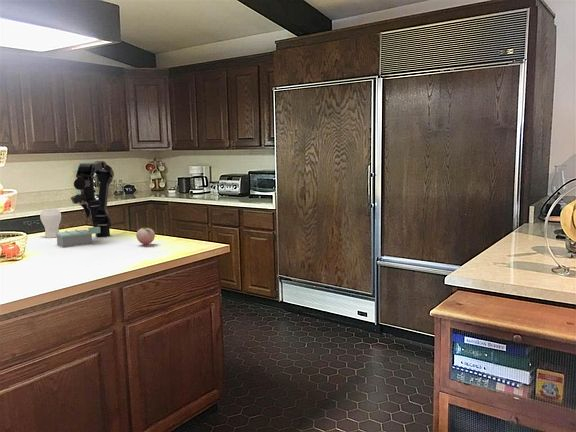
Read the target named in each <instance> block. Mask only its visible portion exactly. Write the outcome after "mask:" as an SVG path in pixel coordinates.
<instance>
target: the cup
mask: <svg viewBox="0 0 576 432" xmlns="http://www.w3.org/2000/svg"><path fill="white" fill-rule="evenodd" d="M39 216H40V217H39V218H40V221H41V223H42V225H43V226H44V230H45V231H44V238H51V239H52V238H57V235H56V233H60V230H59V229H60V228H59V227H60V226H59V225H60V224H61V221H62V212H61V210H60V209H58V208H49V209H41V210H40V214H39Z"/></svg>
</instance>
